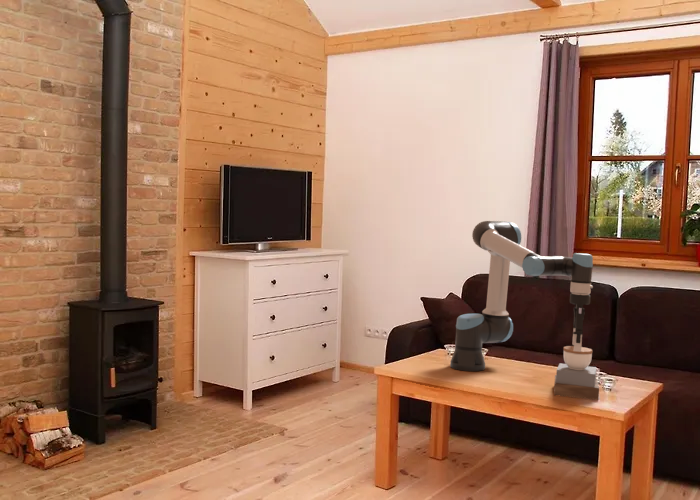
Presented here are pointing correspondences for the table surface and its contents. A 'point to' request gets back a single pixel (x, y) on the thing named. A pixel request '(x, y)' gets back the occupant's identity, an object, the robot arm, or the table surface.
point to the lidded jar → (577, 358)
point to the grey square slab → (576, 376)
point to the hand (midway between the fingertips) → (576, 348)
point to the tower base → (577, 390)
